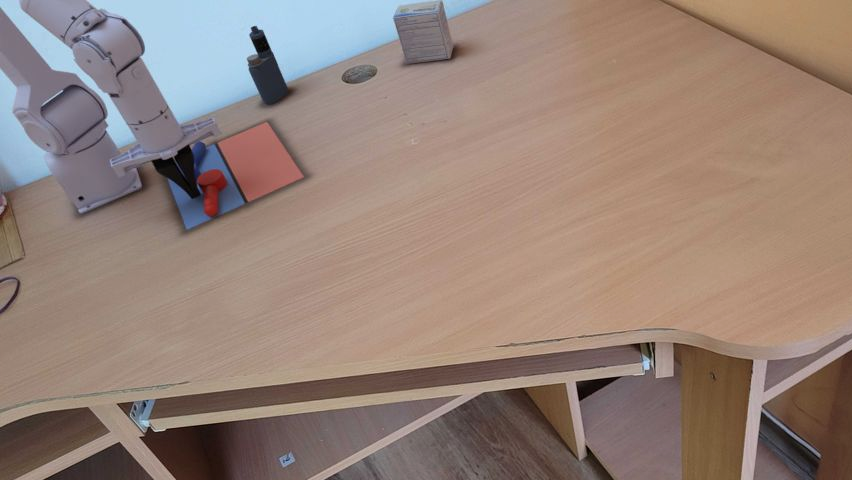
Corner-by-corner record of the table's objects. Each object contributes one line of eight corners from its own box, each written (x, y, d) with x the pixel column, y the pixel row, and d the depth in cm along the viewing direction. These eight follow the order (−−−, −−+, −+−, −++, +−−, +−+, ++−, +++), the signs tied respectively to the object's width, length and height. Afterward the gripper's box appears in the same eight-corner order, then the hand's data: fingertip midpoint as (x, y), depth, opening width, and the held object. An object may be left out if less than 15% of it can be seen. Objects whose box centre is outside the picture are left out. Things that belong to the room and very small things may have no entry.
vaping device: (292, 90, 123) (264, 24, 114) (271, 106, 120) (241, 40, 112) (282, 88, 124) (253, 23, 116) (261, 104, 121) (230, 38, 113)
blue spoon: (192, 150, 114) (187, 141, 112) (215, 146, 113) (210, 137, 112) (173, 188, 106) (167, 179, 105) (197, 184, 106) (191, 175, 105)
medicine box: (454, 47, 124) (442, -2, 118) (450, 60, 121) (438, 10, 115) (410, 52, 125) (397, 4, 119) (406, 65, 122) (392, 16, 116)
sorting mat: (187, 230, 98) (186, 229, 98) (163, 167, 112) (162, 165, 112) (304, 177, 103) (303, 176, 103) (267, 122, 116) (266, 121, 116)
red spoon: (227, 214, 99) (221, 204, 98) (200, 222, 99) (194, 212, 98) (227, 176, 106) (222, 166, 105) (202, 183, 106) (197, 173, 105)
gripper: (94, 148, 89) (150, 229, 98) (205, 102, 92) (249, 185, 102) (89, 125, 94) (142, 205, 103) (195, 83, 97) (237, 164, 107)
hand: (195, 194), depth 103 cm, fingers closed
